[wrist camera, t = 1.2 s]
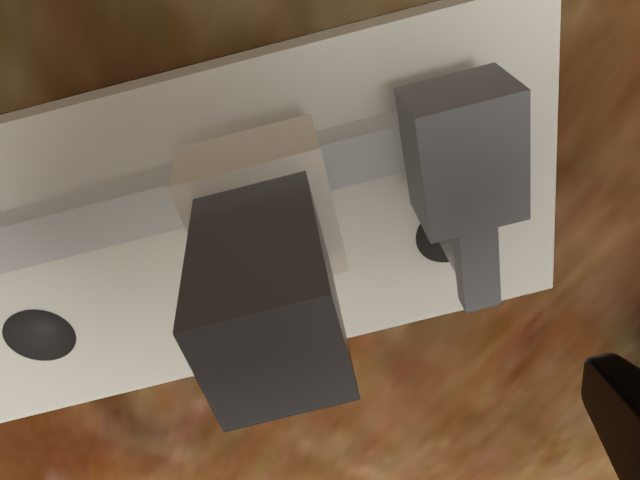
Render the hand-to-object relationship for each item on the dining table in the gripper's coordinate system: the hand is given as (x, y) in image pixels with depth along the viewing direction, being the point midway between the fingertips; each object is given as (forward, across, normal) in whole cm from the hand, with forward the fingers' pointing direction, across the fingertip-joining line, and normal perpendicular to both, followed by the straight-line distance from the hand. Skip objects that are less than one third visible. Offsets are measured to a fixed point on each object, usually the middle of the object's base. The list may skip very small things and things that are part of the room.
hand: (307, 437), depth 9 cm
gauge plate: (+12, +2, +3) cm, 13 cm away
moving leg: (+11, +1, +2) cm, 11 cm away
